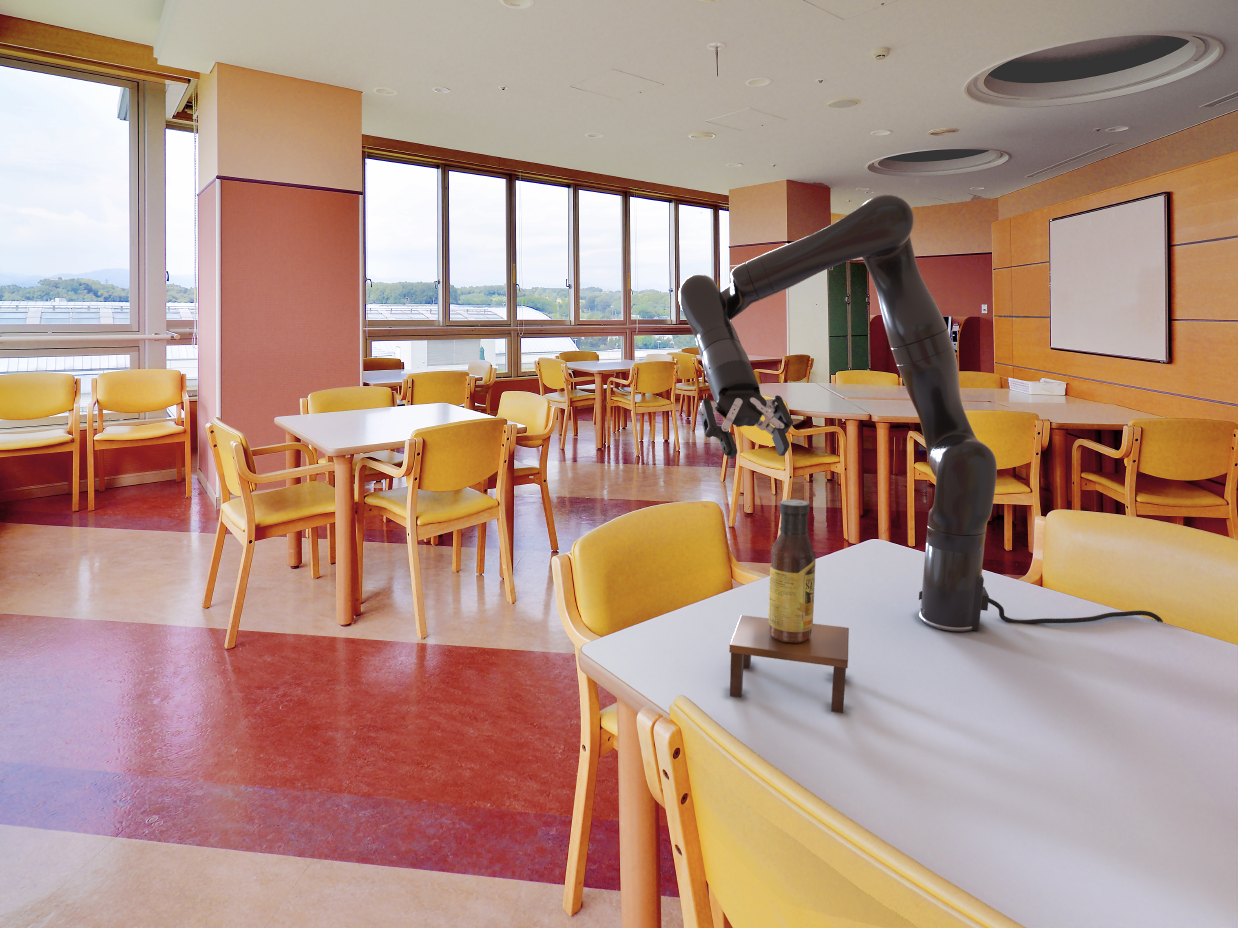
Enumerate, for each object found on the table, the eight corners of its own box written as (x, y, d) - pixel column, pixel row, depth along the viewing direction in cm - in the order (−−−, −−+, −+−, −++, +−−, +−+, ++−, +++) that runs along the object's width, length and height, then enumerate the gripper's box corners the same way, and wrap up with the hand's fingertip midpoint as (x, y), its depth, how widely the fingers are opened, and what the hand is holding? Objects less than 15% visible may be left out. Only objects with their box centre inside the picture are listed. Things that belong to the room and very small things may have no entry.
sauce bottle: (813, 646, 102) (820, 509, 98) (767, 643, 103) (772, 507, 100) (810, 627, 109) (817, 498, 105) (767, 624, 110) (772, 496, 106)
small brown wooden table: (845, 676, 110) (848, 627, 109) (844, 714, 100) (848, 660, 98) (739, 662, 115) (741, 614, 113) (728, 696, 105) (729, 644, 103)
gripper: (695, 359, 115) (724, 442, 107) (776, 357, 119) (810, 437, 111) (682, 389, 121) (708, 471, 113) (760, 387, 125) (791, 465, 117)
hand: (759, 454), depth 112 cm, fingers open, 8 cm apart
